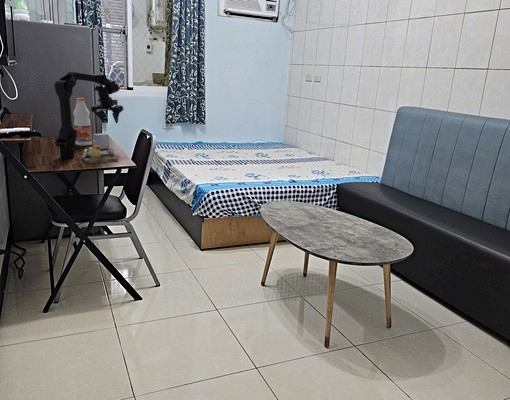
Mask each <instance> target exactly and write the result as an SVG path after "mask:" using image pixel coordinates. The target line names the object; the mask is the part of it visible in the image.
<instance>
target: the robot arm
mask: <svg viewBox="0 0 510 400" xmlns="http://www.w3.org/2000/svg"><path fill="white" fill-rule="evenodd" d="M77 81H81V82H89V83H91V84H94V85H96V86H95V87H94V89H93V90H94V91H96V92H97V95H98V98H99V99H98V100H97V101H98V102H99V103H100V104H94V105H92V106H91V108H90V111H91V112H92V113H93V114H95V115H96V116H97V117H98V119H99V120H100V121H101V122H102V123H105V116H104V111H111V112H112V116H113V120H114V122H115V123H116V124H118V122H119V117H120V114H121V113H122V111H124V106H123V105H121V104H119V105H118V99H112V96H110V95H112V94H116V93H118V92H119V91H120V86H119V85H118V83H117V82H116V81H115V80H114V79H113V80H110V79H108V77H107V75H105V74H97V73H94V74H89V73H88V74H87V73H83V72H77V71H69V72H67V73H66V74H65V75H63V76H62V77H60V78H59V79H58V80H57V81H55V83H54V91H55V94H56V95H57V97H58V99H59V111H60V121H61V127H60V129H59V131H58V137H57V139H56V141H55V142H54V144H55V145H56V146H55V147H58V152H59V153H58V154H59V156H58V157H59V159H60V160H67V159H74V158H75V151H74V150H75V149H74V147H75V146H76V137H77V130H76V129H75V128H73V127H74V126H73V123H72V112H71V111H72V110H71V97H72V94H73V88H75V86H76V85H77Z"/></svg>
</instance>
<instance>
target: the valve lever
mask: <svg viewBox="0 0 510 400" xmlns="http://www.w3.org/2000/svg"><path fill="white" fill-rule="evenodd" d="M90 146H91V147H94V149H95V150H100V151H102V149H101V147H100V145H97V143H93V142H92V144H91V145H90Z"/></svg>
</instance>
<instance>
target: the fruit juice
mask: <svg viewBox="0 0 510 400" xmlns="http://www.w3.org/2000/svg"><path fill="white" fill-rule="evenodd" d="M85 100H86V99H85V97H76V98H75V101H76V104H75V106H74V107H75V108H74V110H73V111H72V112H73V114H72V115H73V118H74V119H73V127H74V128H73V129H76V130H77V137H76V141H75V146H76V145H77V146H92V145H91V144H92V143H93V135H92V127H91V126H92V125H91V120H90V114H91V113H90V110H89V109H88V107H87V104H86V103H85V102H86V101H85Z"/></svg>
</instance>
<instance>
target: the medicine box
mask: <svg viewBox="0 0 510 400" xmlns="http://www.w3.org/2000/svg"><path fill="white" fill-rule="evenodd" d="M109 140H110V139H109V134H108V133H106V132H105V133H104V132H103V133H101V132H100V133H93V134H92V143H97V145H100V147H101V150H105V149H109V148H110V141H109Z"/></svg>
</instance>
